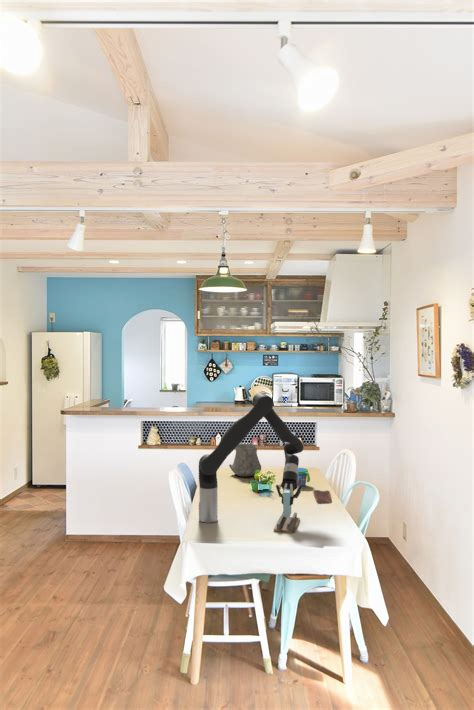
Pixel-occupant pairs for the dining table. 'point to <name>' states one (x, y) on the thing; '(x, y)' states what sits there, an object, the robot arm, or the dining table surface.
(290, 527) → the track board
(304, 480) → the snack cup
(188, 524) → the dining table surface
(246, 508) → the dining table surface
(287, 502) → the door panel
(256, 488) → the green potted plant
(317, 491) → the wooden tablet
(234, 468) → the vessel
